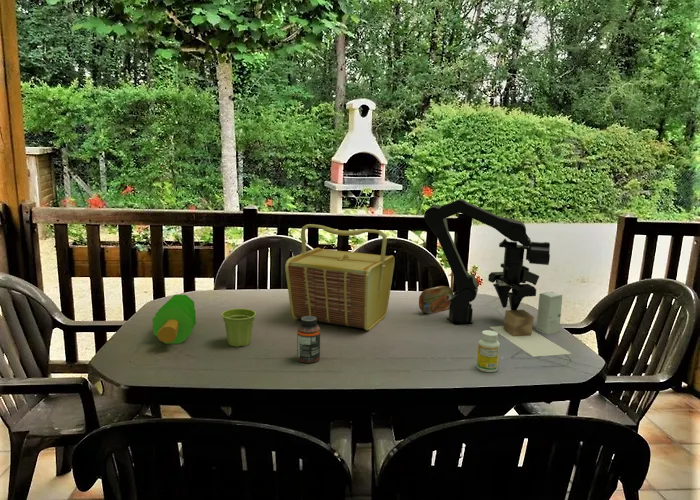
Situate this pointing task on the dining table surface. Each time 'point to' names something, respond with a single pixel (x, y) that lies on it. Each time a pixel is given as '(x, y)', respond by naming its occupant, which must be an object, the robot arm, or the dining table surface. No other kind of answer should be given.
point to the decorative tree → (175, 320)
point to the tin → (435, 299)
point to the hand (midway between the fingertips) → (508, 310)
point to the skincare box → (549, 312)
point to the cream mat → (532, 343)
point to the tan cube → (518, 322)
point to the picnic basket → (340, 283)
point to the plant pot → (238, 326)
